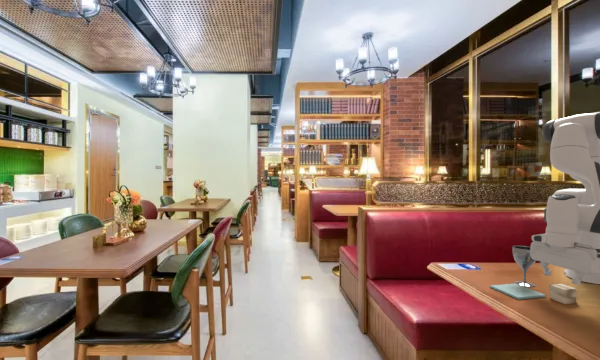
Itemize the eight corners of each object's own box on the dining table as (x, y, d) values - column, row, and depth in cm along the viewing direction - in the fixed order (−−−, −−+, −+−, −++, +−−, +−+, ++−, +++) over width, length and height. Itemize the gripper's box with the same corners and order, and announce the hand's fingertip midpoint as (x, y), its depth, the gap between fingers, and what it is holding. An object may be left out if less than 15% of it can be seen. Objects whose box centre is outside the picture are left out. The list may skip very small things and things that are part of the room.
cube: (561, 297, 105) (560, 283, 105) (576, 303, 100) (576, 288, 100) (549, 298, 104) (549, 284, 104) (564, 304, 99) (564, 289, 99)
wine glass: (529, 288, 113) (529, 250, 113) (508, 282, 120) (508, 246, 120) (541, 286, 116) (541, 248, 116) (519, 279, 124) (519, 244, 124)
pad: (515, 285, 117) (515, 283, 117) (545, 297, 105) (545, 294, 105) (490, 287, 115) (490, 285, 115) (518, 299, 103) (518, 297, 103)
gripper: (604, 246, 93) (604, 289, 92) (540, 235, 113) (540, 270, 113) (588, 246, 92) (588, 290, 91) (527, 235, 112) (526, 271, 111)
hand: (561, 279), depth 102 cm, fingers open, 8 cm apart
